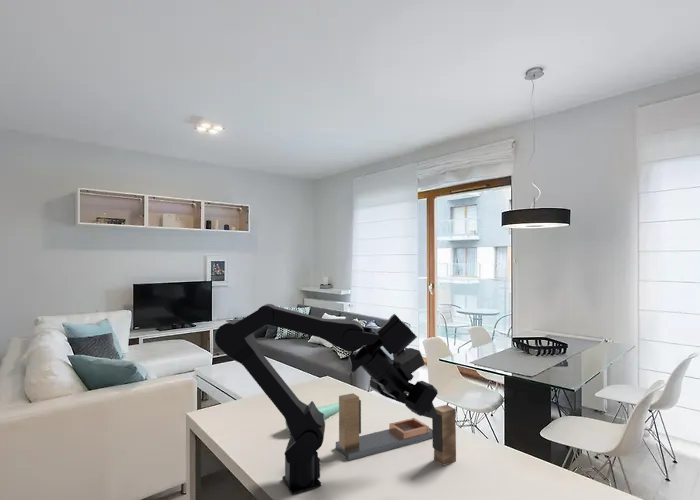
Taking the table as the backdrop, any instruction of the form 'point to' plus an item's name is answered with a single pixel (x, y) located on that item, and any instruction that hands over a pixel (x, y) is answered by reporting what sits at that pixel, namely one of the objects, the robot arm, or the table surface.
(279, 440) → the table surface
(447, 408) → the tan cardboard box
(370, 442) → the rail
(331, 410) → the mint green cone
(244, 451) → the table surface
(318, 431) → the robot arm
